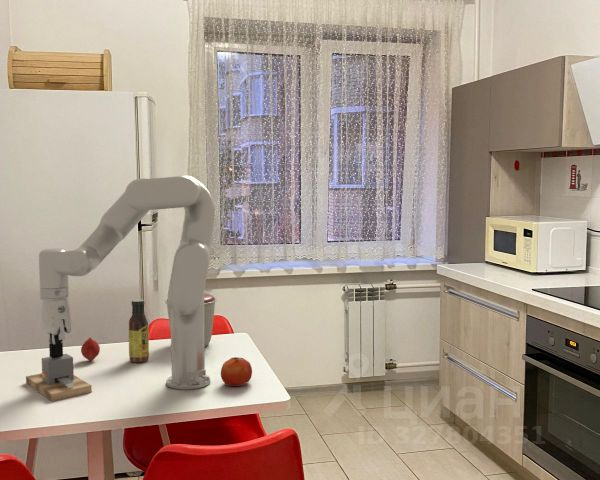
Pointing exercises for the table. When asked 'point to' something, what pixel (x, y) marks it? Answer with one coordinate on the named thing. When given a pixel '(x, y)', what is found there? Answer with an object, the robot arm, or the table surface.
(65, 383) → the rail
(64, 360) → the block
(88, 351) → the red oval fruit
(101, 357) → the table surface
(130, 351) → the sauce bottle
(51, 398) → the mounting board
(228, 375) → the tomato
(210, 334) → the canister
